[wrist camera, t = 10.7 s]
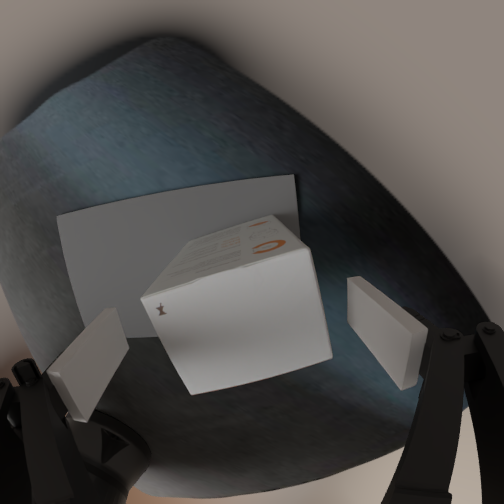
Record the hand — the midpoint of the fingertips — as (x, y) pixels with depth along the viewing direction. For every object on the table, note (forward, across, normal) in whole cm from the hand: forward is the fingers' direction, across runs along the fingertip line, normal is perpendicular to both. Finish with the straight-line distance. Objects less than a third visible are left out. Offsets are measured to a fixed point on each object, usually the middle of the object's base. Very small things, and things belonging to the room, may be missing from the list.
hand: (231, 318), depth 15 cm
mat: (+12, -6, 0) cm, 13 cm away
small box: (+11, +1, 0) cm, 11 cm away
